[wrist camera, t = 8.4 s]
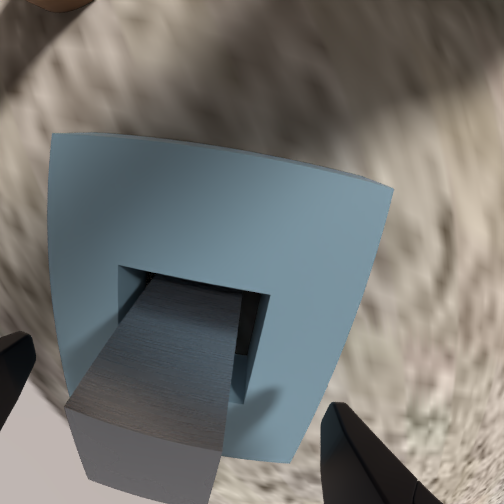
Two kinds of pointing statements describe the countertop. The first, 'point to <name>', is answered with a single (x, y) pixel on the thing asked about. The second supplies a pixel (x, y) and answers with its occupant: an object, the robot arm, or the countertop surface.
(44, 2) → the round peg
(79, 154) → the socket board
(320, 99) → the countertop surface
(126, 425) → the square peg
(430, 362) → the countertop surface
